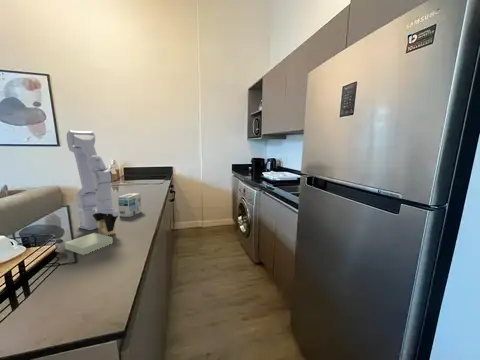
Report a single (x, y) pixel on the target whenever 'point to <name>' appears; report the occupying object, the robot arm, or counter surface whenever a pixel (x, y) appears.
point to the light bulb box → (129, 204)
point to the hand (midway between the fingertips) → (106, 230)
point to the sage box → (88, 243)
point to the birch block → (104, 228)
